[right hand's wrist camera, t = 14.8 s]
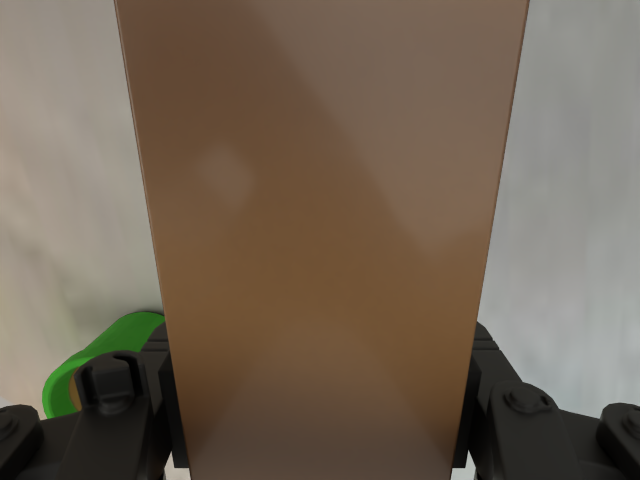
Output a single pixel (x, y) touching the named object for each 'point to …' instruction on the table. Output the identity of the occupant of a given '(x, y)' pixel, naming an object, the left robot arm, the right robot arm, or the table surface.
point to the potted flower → (119, 336)
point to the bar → (321, 221)
